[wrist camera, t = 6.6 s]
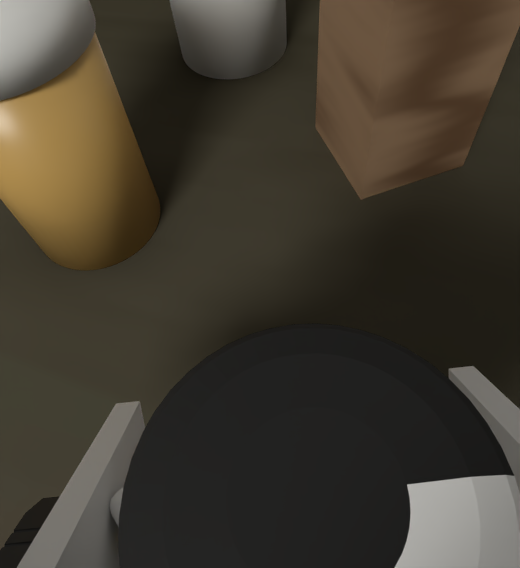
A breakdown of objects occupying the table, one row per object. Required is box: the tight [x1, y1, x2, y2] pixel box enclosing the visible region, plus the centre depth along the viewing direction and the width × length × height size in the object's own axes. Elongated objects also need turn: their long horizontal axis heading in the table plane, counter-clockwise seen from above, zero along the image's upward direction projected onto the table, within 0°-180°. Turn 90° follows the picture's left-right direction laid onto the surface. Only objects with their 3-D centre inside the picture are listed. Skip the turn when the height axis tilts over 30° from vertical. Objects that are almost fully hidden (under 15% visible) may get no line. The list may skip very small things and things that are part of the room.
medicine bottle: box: [109, 324, 520, 568], centre depth 12 cm, size 7×7×12 cm
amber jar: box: [0, 0, 161, 270], centre depth 20 cm, size 7×7×12 cm
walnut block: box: [316, 0, 520, 199], centre depth 22 cm, size 6×6×11 cm
